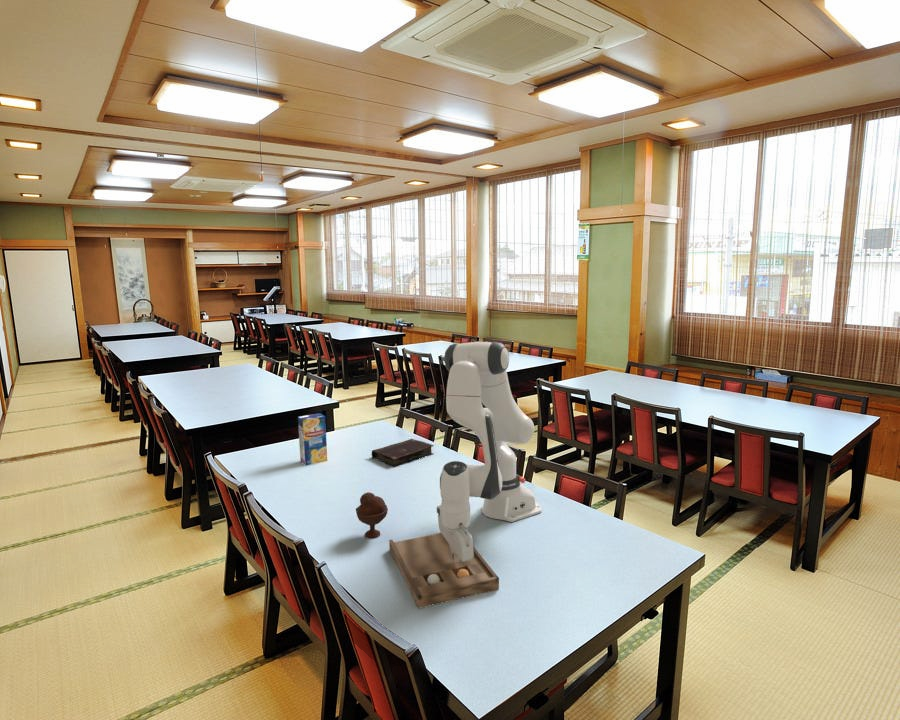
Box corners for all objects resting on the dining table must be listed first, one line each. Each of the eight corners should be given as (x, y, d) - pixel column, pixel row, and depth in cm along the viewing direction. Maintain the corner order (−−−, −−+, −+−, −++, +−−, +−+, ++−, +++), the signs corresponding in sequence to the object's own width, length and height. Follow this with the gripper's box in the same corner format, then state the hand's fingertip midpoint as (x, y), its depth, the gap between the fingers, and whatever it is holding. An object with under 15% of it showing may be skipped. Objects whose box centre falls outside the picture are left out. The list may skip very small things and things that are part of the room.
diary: (371, 459, 256) (371, 449, 255) (411, 447, 273) (411, 437, 272) (395, 468, 243) (394, 458, 242) (435, 455, 260) (435, 445, 259)
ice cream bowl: (358, 545, 175) (357, 502, 172) (355, 529, 186) (353, 489, 183) (390, 540, 178) (389, 498, 175) (385, 525, 188) (384, 485, 186)
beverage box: (300, 461, 251) (297, 416, 248) (322, 456, 258) (320, 413, 254) (305, 465, 246) (302, 420, 242) (327, 460, 252) (325, 416, 248)
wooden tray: (458, 536, 180) (458, 527, 179) (498, 589, 150) (499, 577, 150) (389, 550, 172) (389, 540, 171) (418, 608, 142) (418, 596, 142)
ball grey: (437, 581, 154) (437, 570, 154) (441, 588, 151) (441, 577, 150) (425, 584, 153) (425, 573, 152) (429, 591, 150) (429, 579, 149)
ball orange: (471, 574, 153) (470, 583, 154) (467, 565, 155) (465, 573, 157) (460, 577, 151) (458, 585, 153) (456, 567, 154) (454, 576, 156)
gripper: (479, 530, 148) (478, 575, 151) (453, 501, 167) (453, 541, 169) (458, 534, 146) (458, 580, 148) (434, 504, 165) (435, 545, 167)
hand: (455, 559), depth 159 cm, fingers closed
